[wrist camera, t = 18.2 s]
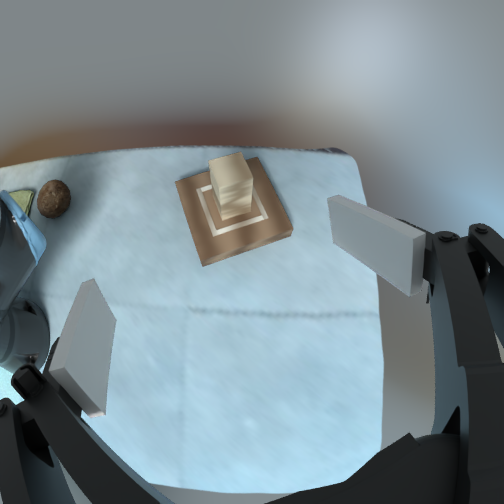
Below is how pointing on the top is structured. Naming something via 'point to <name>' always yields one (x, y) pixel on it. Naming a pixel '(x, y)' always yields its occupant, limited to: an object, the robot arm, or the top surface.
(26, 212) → the washcloth
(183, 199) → the base board
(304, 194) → the top surface
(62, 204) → the mushroom
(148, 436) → the top surface
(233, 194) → the beech pillar
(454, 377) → the robot arm
